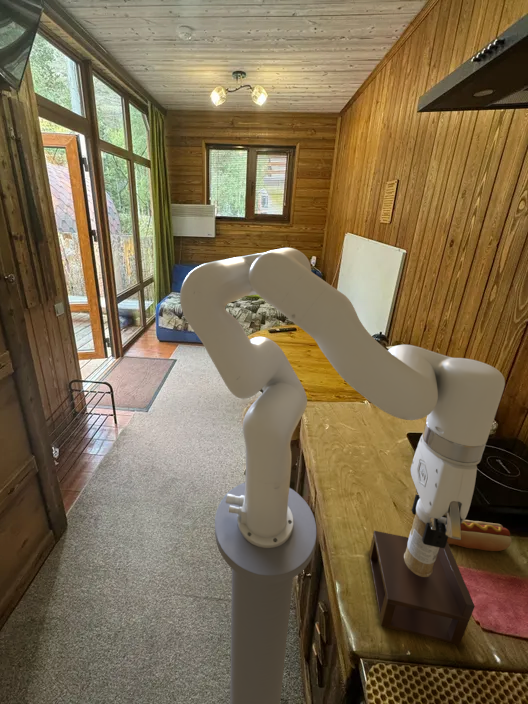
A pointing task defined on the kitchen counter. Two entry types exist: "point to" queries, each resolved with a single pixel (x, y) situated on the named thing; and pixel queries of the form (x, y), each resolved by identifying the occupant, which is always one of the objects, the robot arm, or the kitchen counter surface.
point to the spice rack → (419, 592)
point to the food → (482, 536)
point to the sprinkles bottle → (420, 545)
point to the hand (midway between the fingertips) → (427, 528)
